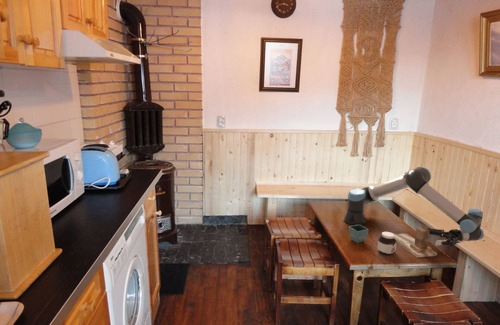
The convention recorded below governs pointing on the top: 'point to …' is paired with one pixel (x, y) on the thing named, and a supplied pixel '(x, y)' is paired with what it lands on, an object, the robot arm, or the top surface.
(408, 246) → the plywood board
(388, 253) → the spread jar
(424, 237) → the block
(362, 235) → the flower pot
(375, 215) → the top surface
